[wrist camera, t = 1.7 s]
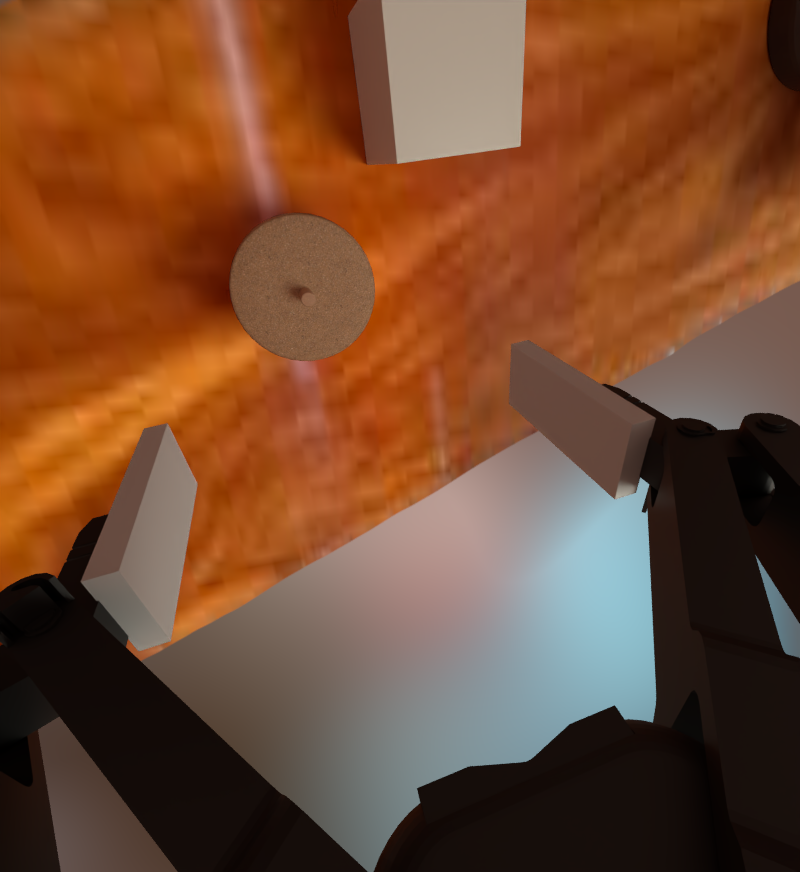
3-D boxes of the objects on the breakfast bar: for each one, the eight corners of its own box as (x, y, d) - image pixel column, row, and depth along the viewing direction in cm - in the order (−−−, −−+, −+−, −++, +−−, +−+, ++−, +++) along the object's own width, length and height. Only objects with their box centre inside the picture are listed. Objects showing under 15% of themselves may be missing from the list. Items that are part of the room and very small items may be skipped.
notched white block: (467, 151, 37) (520, 146, 30) (367, 164, 35) (397, 163, 28) (464, 7, 32) (527, -41, 25) (347, 16, 30) (378, -34, 23)
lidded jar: (231, 194, 34) (225, 202, 26) (362, 217, 37) (390, 229, 30) (234, 327, 39) (230, 365, 31) (349, 336, 42) (370, 372, 35)
